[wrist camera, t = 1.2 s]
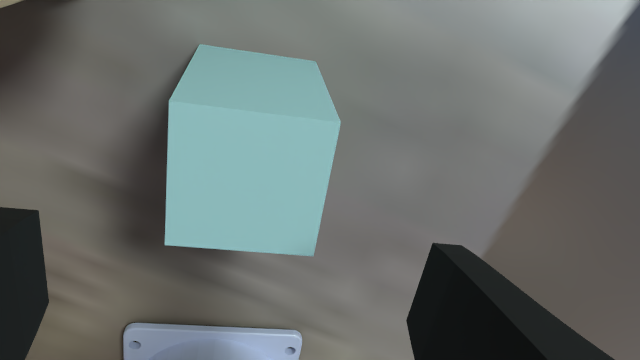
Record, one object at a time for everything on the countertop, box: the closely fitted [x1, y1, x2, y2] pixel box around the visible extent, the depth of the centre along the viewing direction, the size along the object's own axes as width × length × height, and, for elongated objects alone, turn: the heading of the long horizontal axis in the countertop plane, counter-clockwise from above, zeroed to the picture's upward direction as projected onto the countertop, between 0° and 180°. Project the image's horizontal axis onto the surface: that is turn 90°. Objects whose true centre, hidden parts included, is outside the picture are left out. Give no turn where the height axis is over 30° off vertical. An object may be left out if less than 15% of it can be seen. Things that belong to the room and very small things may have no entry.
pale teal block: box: [165, 44, 341, 256], centre depth 14 cm, size 4×4×6 cm
